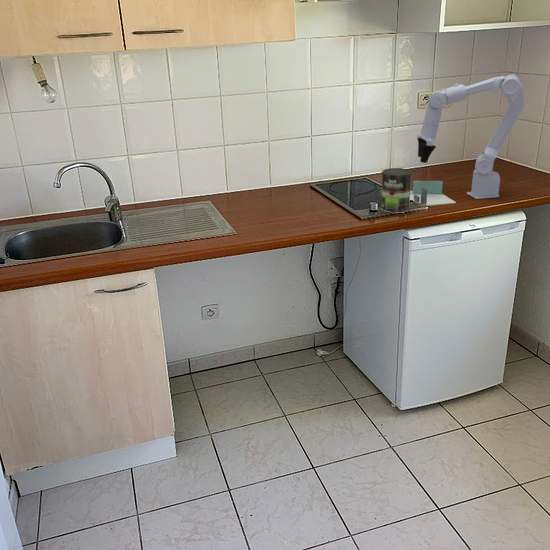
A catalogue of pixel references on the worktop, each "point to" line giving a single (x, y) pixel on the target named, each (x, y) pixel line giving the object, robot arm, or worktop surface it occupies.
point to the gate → (428, 186)
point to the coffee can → (396, 189)
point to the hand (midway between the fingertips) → (422, 159)
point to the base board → (433, 199)
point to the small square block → (422, 196)
